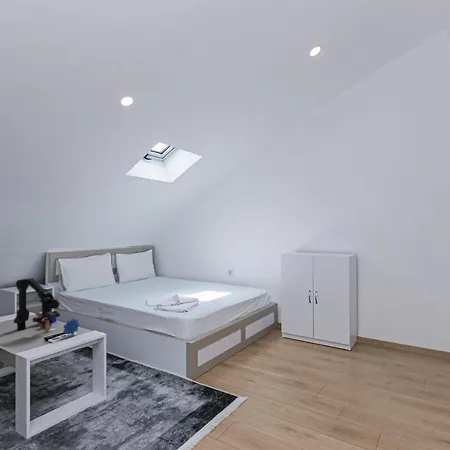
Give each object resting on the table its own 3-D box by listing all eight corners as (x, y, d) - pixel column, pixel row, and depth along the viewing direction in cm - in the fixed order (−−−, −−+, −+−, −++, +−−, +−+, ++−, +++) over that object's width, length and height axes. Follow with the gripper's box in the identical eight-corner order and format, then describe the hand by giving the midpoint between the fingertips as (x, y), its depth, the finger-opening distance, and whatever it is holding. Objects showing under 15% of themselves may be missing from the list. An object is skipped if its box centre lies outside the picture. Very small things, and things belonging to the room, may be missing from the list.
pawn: (43, 330, 264) (42, 320, 264) (48, 328, 267) (47, 318, 267) (46, 330, 262) (45, 320, 262) (51, 329, 265) (50, 319, 265)
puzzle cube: (48, 325, 283) (47, 313, 283) (37, 325, 285) (37, 313, 285) (56, 322, 293) (56, 310, 293) (46, 321, 295) (45, 310, 295)
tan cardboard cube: (40, 329, 273) (40, 322, 273) (46, 327, 277) (46, 320, 277) (44, 329, 271) (44, 323, 271) (50, 327, 275) (50, 321, 275)
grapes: (77, 331, 263) (77, 315, 263) (81, 333, 258) (80, 317, 258) (61, 335, 255) (60, 319, 255) (64, 337, 250) (63, 320, 250)
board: (24, 338, 253) (24, 336, 253) (53, 329, 272) (52, 328, 272) (29, 339, 250) (29, 337, 250) (57, 330, 269) (57, 328, 269)
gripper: (40, 311, 252) (41, 333, 253) (63, 305, 269) (64, 326, 269) (31, 310, 258) (32, 331, 258) (54, 304, 274) (55, 324, 274)
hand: (47, 328), depth 265 cm, fingers open, 4 cm apart
